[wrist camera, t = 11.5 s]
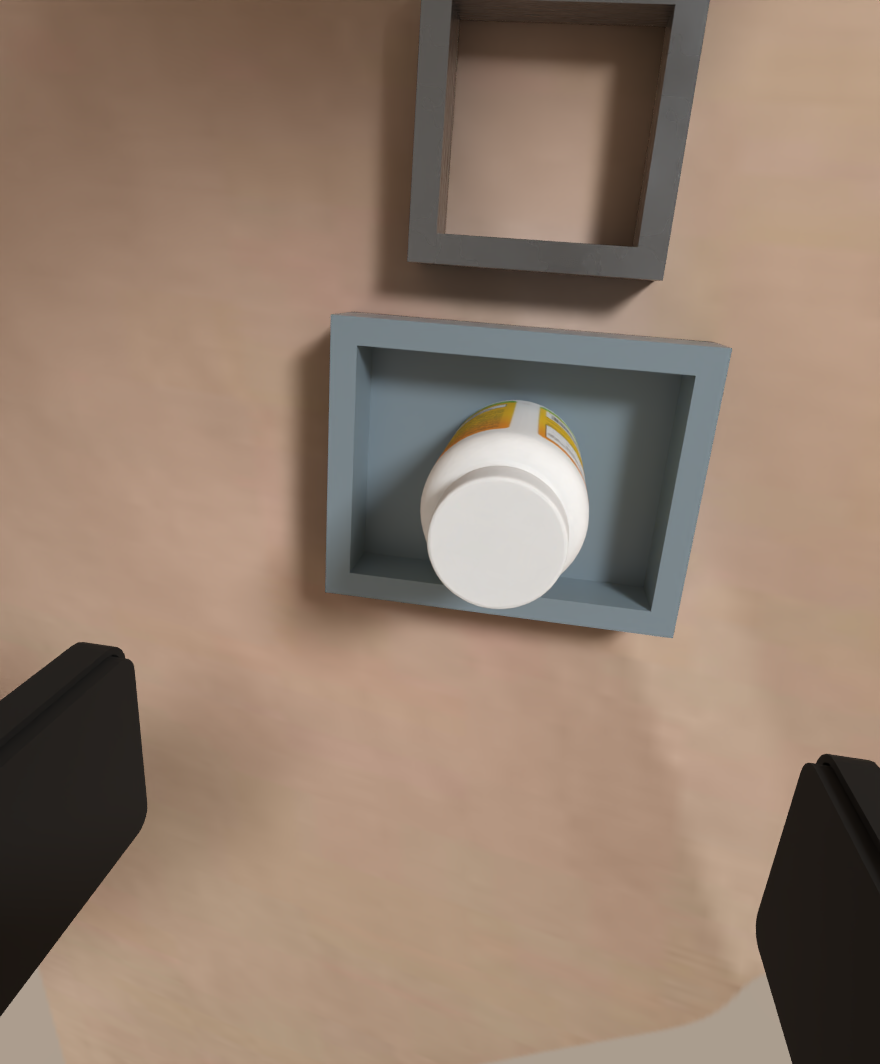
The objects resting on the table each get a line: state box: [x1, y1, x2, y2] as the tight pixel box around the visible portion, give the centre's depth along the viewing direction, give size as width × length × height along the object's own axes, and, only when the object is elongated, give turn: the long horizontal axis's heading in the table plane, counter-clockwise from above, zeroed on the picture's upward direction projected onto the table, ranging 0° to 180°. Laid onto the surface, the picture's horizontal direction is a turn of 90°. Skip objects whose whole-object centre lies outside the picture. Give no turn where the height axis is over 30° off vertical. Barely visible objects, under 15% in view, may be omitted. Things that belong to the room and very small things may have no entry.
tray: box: [325, 312, 732, 638], centre depth 28 cm, size 11×14×3 cm
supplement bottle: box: [420, 400, 589, 609], centre depth 24 cm, size 5×5×10 cm
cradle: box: [407, 0, 710, 281], centre depth 24 cm, size 9×9×2 cm
